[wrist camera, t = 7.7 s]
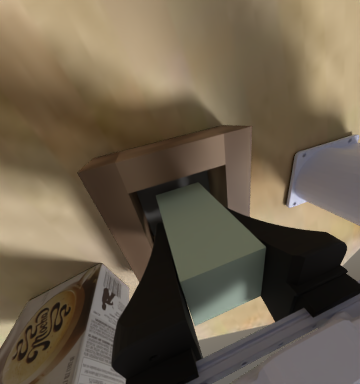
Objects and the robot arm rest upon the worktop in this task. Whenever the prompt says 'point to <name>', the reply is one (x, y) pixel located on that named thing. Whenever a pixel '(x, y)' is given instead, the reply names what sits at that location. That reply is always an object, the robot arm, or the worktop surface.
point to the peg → (210, 252)
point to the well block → (167, 182)
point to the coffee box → (67, 333)
